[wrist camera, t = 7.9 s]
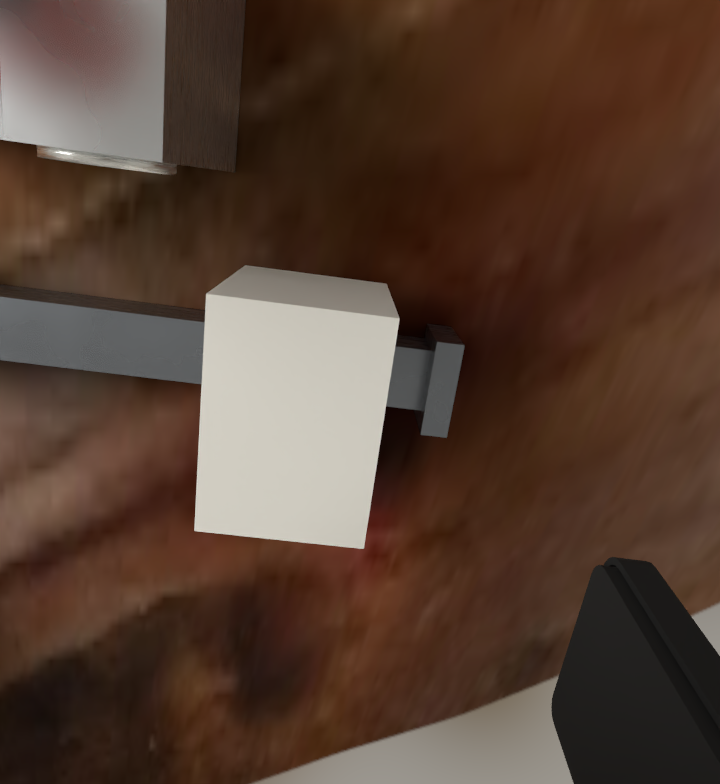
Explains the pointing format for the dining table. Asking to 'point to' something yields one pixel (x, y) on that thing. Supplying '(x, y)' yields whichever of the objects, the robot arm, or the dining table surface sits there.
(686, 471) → the dining table surface
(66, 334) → the rail
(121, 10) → the grey box
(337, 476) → the carriage
